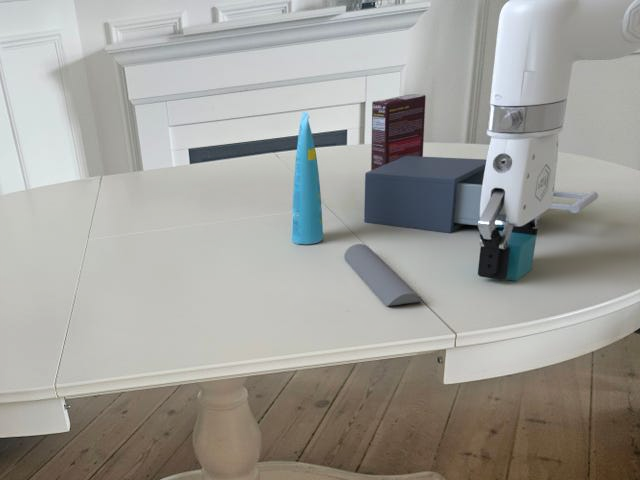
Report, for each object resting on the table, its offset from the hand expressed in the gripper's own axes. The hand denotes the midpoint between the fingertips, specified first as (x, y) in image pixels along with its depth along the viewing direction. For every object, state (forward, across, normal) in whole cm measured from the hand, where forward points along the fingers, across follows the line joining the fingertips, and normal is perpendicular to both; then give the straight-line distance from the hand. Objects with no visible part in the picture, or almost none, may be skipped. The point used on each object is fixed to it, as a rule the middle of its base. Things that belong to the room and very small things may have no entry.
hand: (505, 266), depth 79 cm
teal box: (+1, 0, 0) cm, 1 cm away
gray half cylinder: (+1, -9, +12) cm, 15 cm away
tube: (+1, 0, +30) cm, 30 cm away
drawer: (0, +18, +7) cm, 19 cm away
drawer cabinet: (+1, +18, +20) cm, 27 cm away
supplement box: (+1, +35, +35) cm, 50 cm away
